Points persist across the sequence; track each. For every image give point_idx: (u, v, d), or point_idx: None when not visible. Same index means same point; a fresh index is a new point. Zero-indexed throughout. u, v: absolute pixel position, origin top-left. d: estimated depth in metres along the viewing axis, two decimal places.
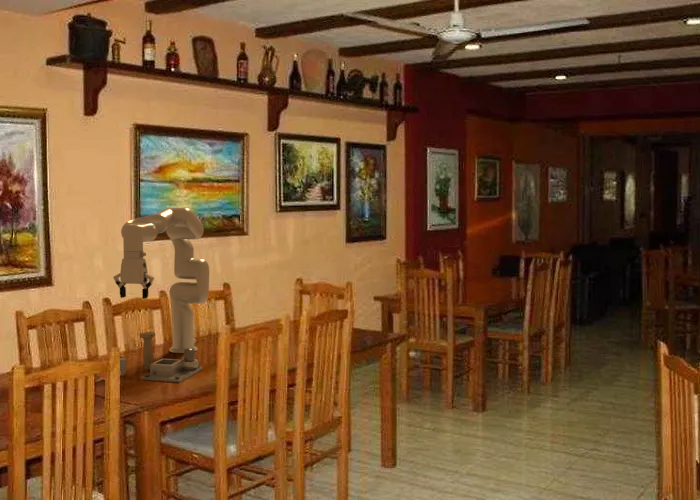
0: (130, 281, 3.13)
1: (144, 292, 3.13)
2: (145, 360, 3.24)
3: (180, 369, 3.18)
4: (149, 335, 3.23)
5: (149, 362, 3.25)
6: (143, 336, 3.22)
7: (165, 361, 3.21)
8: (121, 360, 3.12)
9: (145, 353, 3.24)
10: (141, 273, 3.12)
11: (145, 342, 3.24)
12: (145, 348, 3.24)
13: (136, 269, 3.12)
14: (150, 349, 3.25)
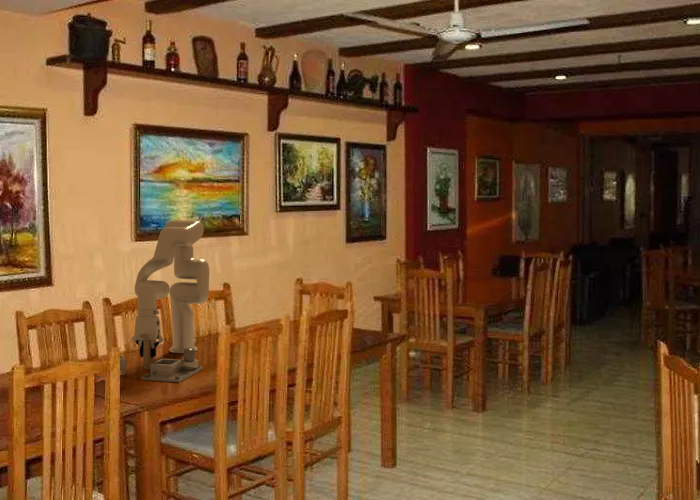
0: None
1: (152, 351, 3.24)
2: (145, 360, 3.24)
3: (180, 369, 3.18)
4: None
5: (149, 362, 3.25)
6: (143, 336, 3.22)
7: (165, 361, 3.21)
8: (121, 360, 3.12)
9: (145, 353, 3.24)
10: (155, 331, 3.22)
11: (145, 342, 3.24)
12: (145, 348, 3.24)
13: (150, 327, 3.22)
14: None
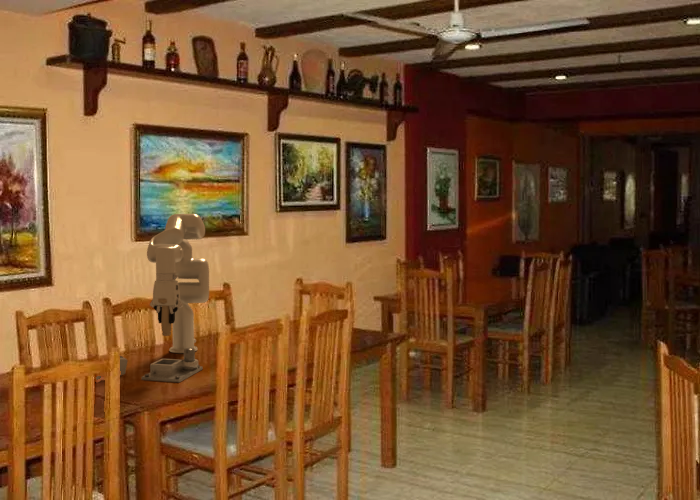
0: None
1: (171, 317, 3.13)
2: (163, 326, 3.14)
3: (180, 369, 3.18)
4: None
5: (168, 328, 3.14)
6: (161, 301, 3.11)
7: (165, 361, 3.21)
8: (122, 359, 3.13)
9: (163, 319, 3.13)
10: (174, 295, 3.11)
11: (163, 307, 3.13)
12: (163, 314, 3.13)
13: (169, 291, 3.11)
14: None
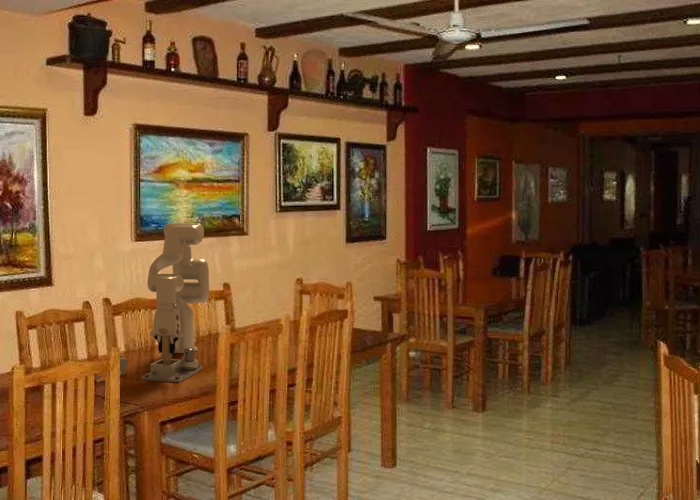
0: None
1: (171, 347, 3.14)
2: (164, 356, 3.15)
3: (180, 369, 3.18)
4: None
5: (168, 358, 3.15)
6: (162, 331, 3.12)
7: None
8: (122, 359, 3.13)
9: (164, 349, 3.14)
10: (174, 325, 3.12)
11: (164, 337, 3.14)
12: (164, 343, 3.14)
13: (169, 321, 3.12)
14: (169, 345, 3.15)
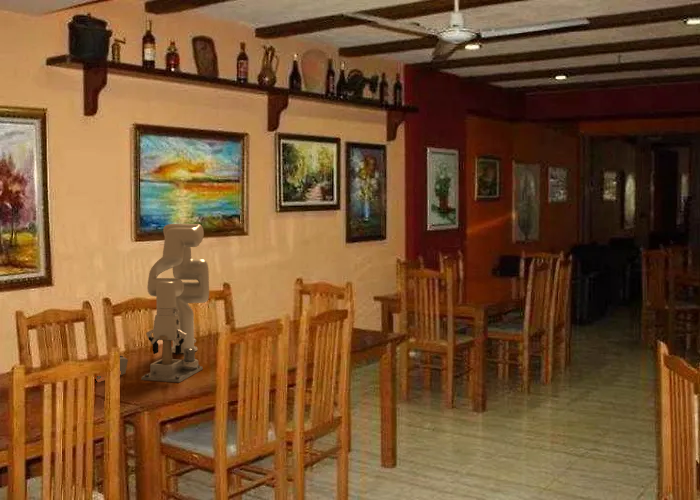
0: None
1: (177, 349, 3.14)
2: (164, 362, 3.15)
3: (180, 369, 3.18)
4: None
5: None
6: (163, 338, 3.13)
7: None
8: (123, 359, 3.13)
9: (164, 355, 3.15)
10: (174, 330, 3.12)
11: (164, 344, 3.15)
12: (164, 350, 3.15)
13: (169, 326, 3.12)
14: (170, 351, 3.15)
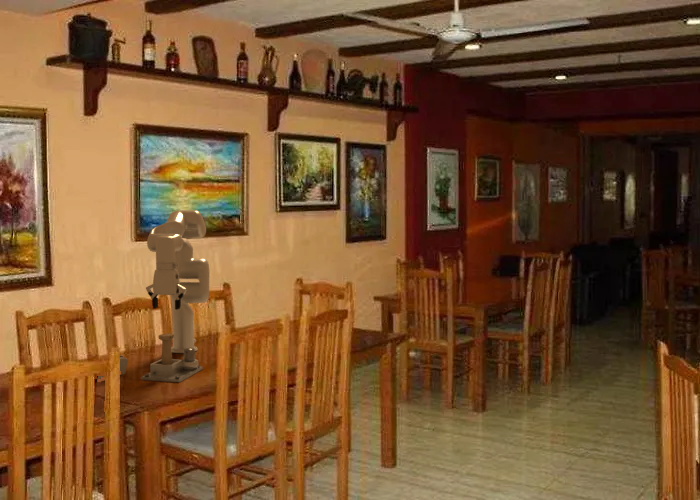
0: (163, 292, 3.16)
1: (177, 303, 3.16)
2: (164, 362, 3.15)
3: (180, 369, 3.18)
4: (168, 337, 3.14)
5: None
6: (162, 338, 3.13)
7: None
8: (123, 359, 3.14)
9: (164, 355, 3.15)
10: (174, 284, 3.14)
11: (164, 344, 3.15)
12: (164, 350, 3.15)
13: (169, 280, 3.14)
14: (169, 351, 3.15)
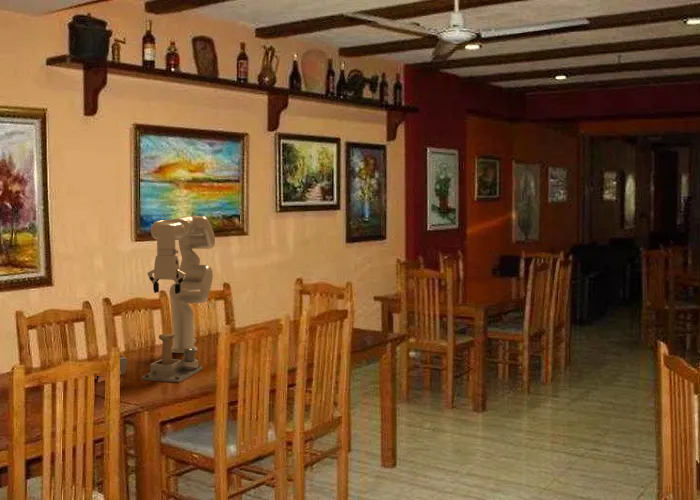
0: (163, 277, 3.32)
1: (176, 287, 3.32)
2: (164, 363, 3.15)
3: (180, 369, 3.18)
4: (168, 337, 3.14)
5: None
6: (162, 338, 3.13)
7: None
8: (123, 359, 3.14)
9: (164, 355, 3.15)
10: (174, 269, 3.31)
11: (164, 344, 3.15)
12: (164, 350, 3.15)
13: (169, 266, 3.31)
14: (170, 351, 3.15)
